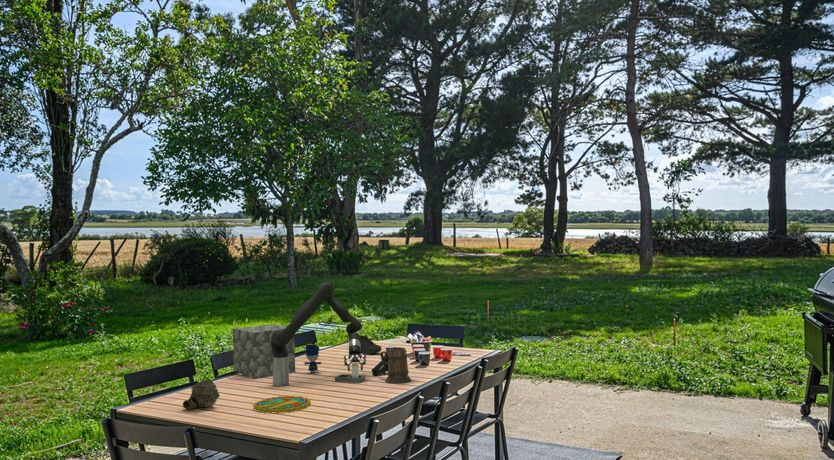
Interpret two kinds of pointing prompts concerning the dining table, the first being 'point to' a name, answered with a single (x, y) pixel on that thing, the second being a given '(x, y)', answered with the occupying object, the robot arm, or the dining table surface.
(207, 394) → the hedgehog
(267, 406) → the decorative plaque
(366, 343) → the running shoe
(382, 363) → the toy gun
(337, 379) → the divided rectangular frame
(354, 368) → the two-tone square post
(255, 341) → the block
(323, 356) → the dining table surface
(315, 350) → the figurine
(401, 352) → the tankard
